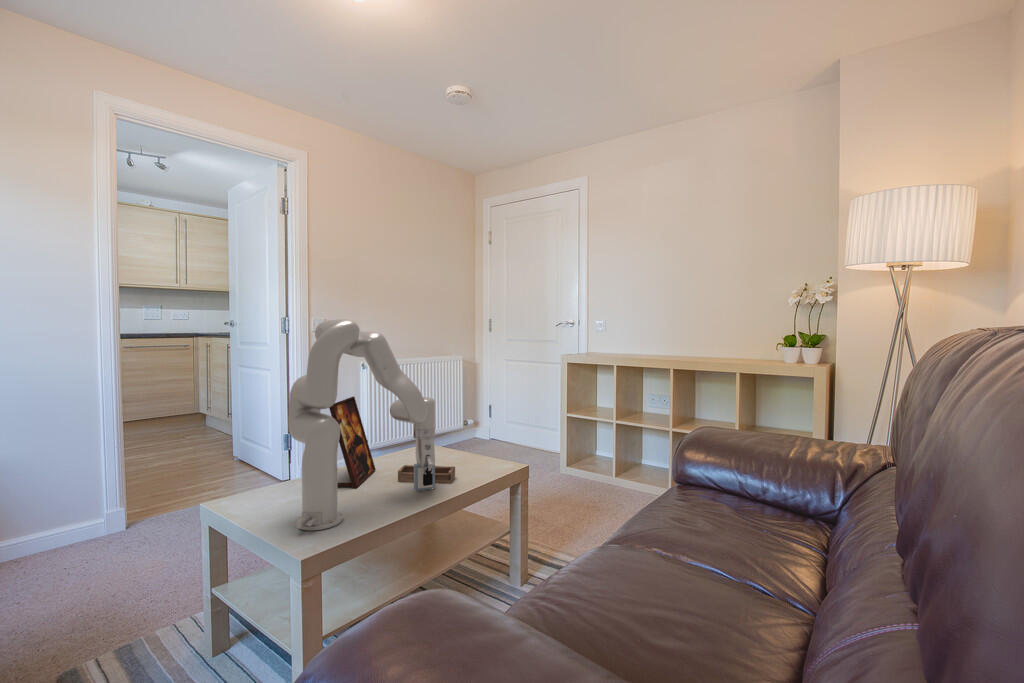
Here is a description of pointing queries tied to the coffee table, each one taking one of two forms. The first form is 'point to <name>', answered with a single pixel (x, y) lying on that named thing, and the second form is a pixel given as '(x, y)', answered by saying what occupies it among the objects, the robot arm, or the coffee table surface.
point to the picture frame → (353, 442)
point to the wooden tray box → (441, 474)
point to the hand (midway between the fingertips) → (424, 481)
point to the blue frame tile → (419, 478)
